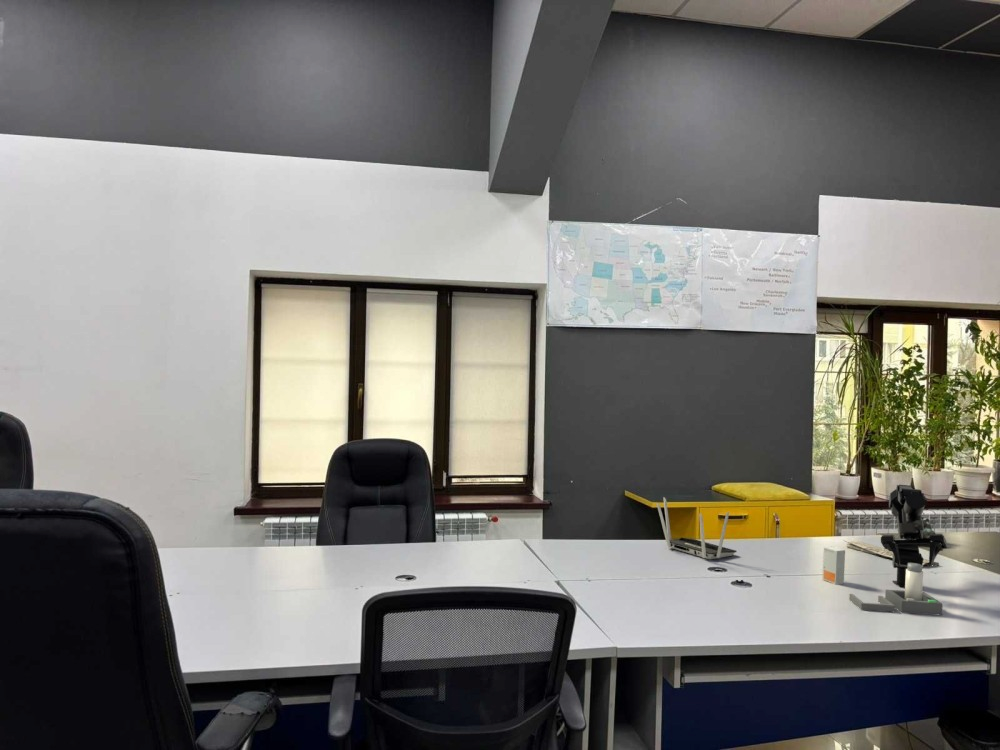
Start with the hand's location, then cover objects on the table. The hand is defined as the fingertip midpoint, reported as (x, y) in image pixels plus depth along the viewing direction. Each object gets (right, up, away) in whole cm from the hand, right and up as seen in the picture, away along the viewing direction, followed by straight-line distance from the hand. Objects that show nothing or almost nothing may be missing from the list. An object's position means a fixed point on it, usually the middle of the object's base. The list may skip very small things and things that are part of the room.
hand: (914, 565), depth 237 cm
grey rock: (+50, -13, +86) cm, 101 cm away
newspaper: (+24, -13, +61) cm, 66 cm away
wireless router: (-57, -10, +55) cm, 80 cm away
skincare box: (-18, -11, +20) cm, 29 cm away
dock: (-4, -12, -7) cm, 14 cm away
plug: (-4, -11, -7) cm, 13 cm away
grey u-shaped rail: (-17, -11, -6) cm, 22 cm away
